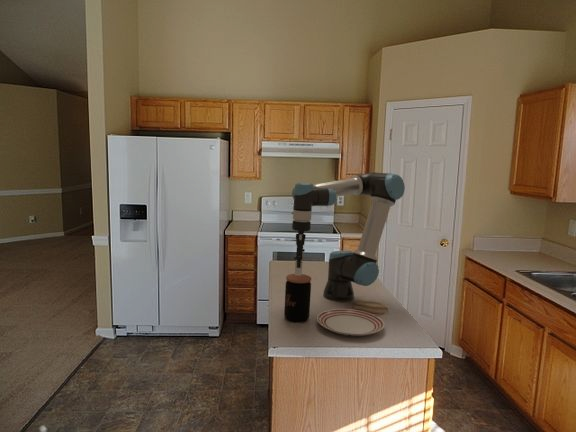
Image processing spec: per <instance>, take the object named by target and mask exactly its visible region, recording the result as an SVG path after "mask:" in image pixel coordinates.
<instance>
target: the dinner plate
mask: <svg viewBox="0 0 576 432" xmlns="http://www.w3.org/2000/svg"><path fill="white" fill-rule="evenodd" d="M316 321H317V323H318V324H319V325H320V326H321V327H323V328H324V329H326V330H329V332H333V333H336V334H339V335H342V334H344V335H343V336H348V335H351V336H350V337H362V336H369V335H374V334H377V333H379V332H381V331H382V330H384V327H385V322H384V320H383V319H381V318H380V317H378V315H373V314H370V313H367V312H364V311H359V310H355V309H354V308H353V309H352V308H350V309H349V308H334V309H328V310H324V311H322V312H320V313H318V314H317V315H316Z"/></svg>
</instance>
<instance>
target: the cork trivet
mask: <svg viewBox="0 0 576 432" xmlns="http://www.w3.org/2000/svg"><path fill="white" fill-rule="evenodd" d="M352 306H353V310H355V309H356V310H359V311H364V312H367V313H370V314H381V315H385V314H387V313H388V312H389V307H388V306H387V305H385V304H383V303H381V302H376V301H371V300H370V301H369V300H360V301H356V302H355V303H353V305H352ZM386 312H387V313H386ZM384 313H385V314H384Z"/></svg>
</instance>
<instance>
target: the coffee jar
mask: <svg viewBox="0 0 576 432" xmlns="http://www.w3.org/2000/svg"><path fill="white" fill-rule="evenodd" d="M285 279H286V281H285V291H284V293H285V294H284V311H283V313H284V314H283V316H284V318H285V319H286V320H287V321H289V322H291V323H296V322H301V323H305V322H307V321H308V319H309V318H310V311H311V293H312V291H311V290H312V282H311V281H312V276H310V275H308V274H303V273H302V275H301V276H298V275H295V273H291V274H287V275H286V277H285Z"/></svg>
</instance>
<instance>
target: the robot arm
mask: <svg viewBox="0 0 576 432" xmlns="http://www.w3.org/2000/svg"><path fill="white" fill-rule="evenodd" d="M405 186H406V185H405V182H404V180H403V178H402V177H401V176H400V175H398V174H397V173H392V172H391V173H389V172H367V173H363V174H358V175H353V176H351V177H350V178H345V179H341V180H339V179H338V180H334V181H328V182H319V183H314V184H312V183H309V182H296V183H295V184H294V187H293V189H292V190H291V191H292V192H291V196H292V198H293V211H291V214H292V223H291V225H292V226H291V229H292V230H293V231H297V232H298V233H296V234H295V245H296V254H295V257H293V260H294V261H295V263H294V264H295V266H294V274H295V275H298V276H301V275H302V274H303V272H302V271H303V261H304V252H305V249H304V246H305V241H306V234H305V232H308V231H311V227H312V226H311V220H312V212H313V211H312V208H313V207H331V206H334V204H335V203H336V202H337V197H343V196H349V195H354V196H361V195H363V196H370V199H371V201H372V202H371V206H370V209H369V212H368V215H367V218H366V222H365V225H364V228H363V231H362V235H361V237H360V240H359V243H358V247H357V249H356V250H355V251H351V250H334V251H331V252H330V253H329V258H328V274H327V282H326V284H325V286H324V289H323V294H322V295H323V297H325V298H326V299H328V300H331V301H335V302H349V301H352V300H354V297H355V292H354V288H353V285H352V283H354V284H356V285H359V286H364V287H368V286H370V285H371V284H374V282H376V280H377V278H378V277H379V273H380V270H379V266H378V264H377V262H378V258H377V257H376V254H377V250H378V247H379V244H380V241H381V239H382V235H383V232H384V229H385V225H386V222H387V218H388V216H389V213H390V209H391V207H393V206H395V204H396V201H397V200H400V199H401V198H403V196H404V194H405V190H406V189H405Z"/></svg>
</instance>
